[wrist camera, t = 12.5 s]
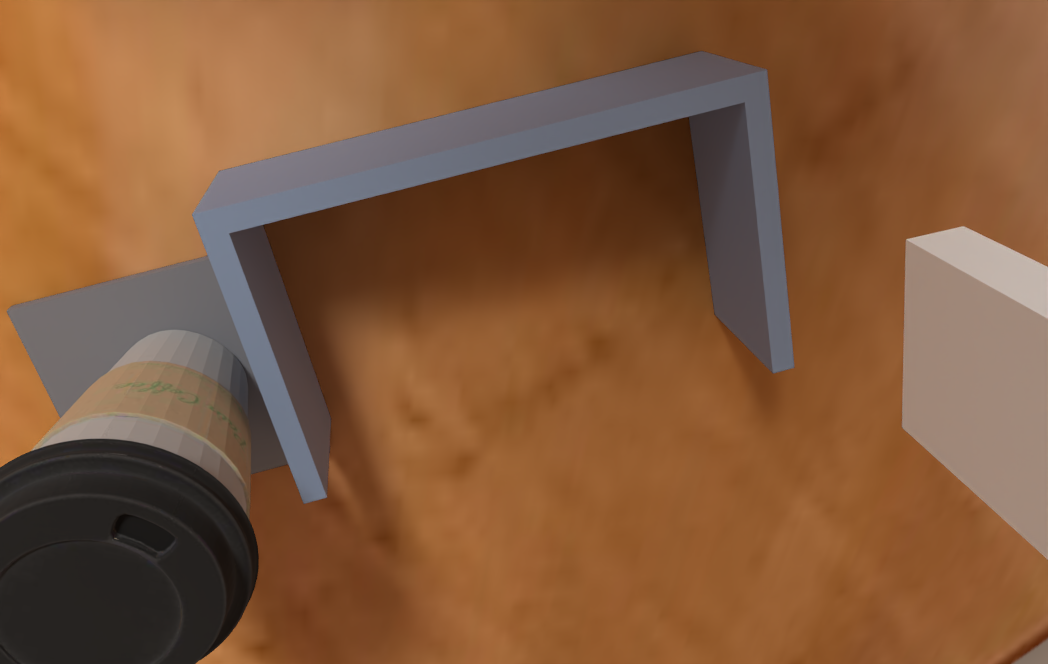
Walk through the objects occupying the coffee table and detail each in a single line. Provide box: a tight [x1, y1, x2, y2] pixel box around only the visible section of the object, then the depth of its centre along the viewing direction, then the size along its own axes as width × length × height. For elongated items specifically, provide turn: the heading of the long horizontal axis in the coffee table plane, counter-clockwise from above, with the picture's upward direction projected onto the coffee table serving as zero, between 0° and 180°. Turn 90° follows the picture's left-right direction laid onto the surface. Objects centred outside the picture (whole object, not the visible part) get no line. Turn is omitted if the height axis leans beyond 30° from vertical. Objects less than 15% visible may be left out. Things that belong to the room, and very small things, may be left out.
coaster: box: [7, 256, 330, 474], centre depth 42 cm, size 11×11×1 cm
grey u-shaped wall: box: [192, 51, 794, 504], centre depth 39 cm, size 13×22×7 cm, turn 102°
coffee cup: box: [0, 330, 259, 664], centre depth 35 cm, size 9×9×15 cm
